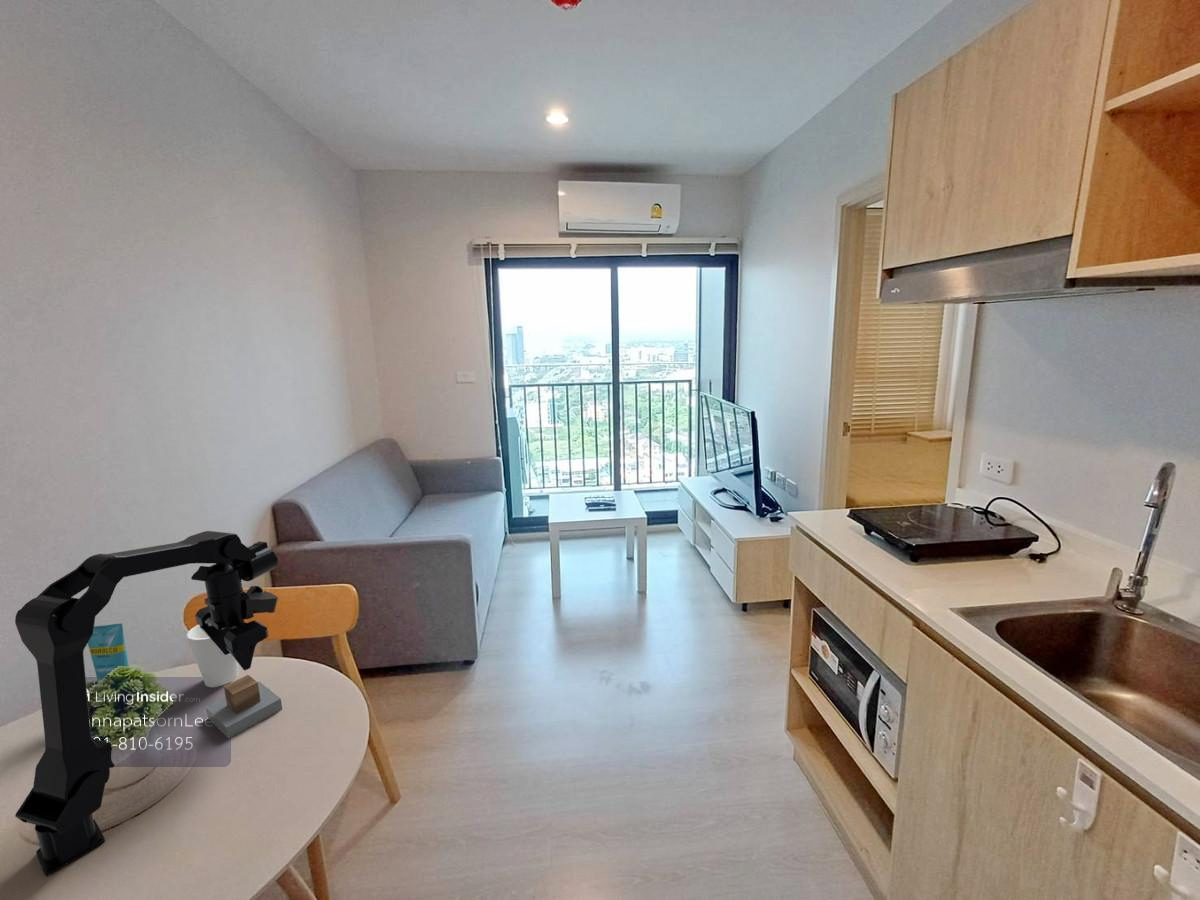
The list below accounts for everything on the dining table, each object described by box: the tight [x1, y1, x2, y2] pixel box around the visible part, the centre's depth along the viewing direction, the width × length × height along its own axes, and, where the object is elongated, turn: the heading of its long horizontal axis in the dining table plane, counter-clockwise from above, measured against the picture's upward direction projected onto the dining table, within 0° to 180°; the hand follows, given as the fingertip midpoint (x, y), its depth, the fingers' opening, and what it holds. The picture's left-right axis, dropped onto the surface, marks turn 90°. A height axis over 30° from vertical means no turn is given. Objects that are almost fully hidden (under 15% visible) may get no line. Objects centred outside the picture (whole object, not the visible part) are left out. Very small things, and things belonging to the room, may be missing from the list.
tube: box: [87, 622, 130, 682], centre depth 107 cm, size 7×5×19 cm, turn 103°
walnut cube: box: [223, 674, 261, 714], centre depth 105 cm, size 4×4×4 cm
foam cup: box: [186, 624, 240, 688], centre depth 116 cm, size 10×9×13 cm
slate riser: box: [205, 681, 283, 739], centre depth 106 cm, size 10×10×2 cm
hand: (237, 661), depth 104 cm, fingers open, 9 cm apart
